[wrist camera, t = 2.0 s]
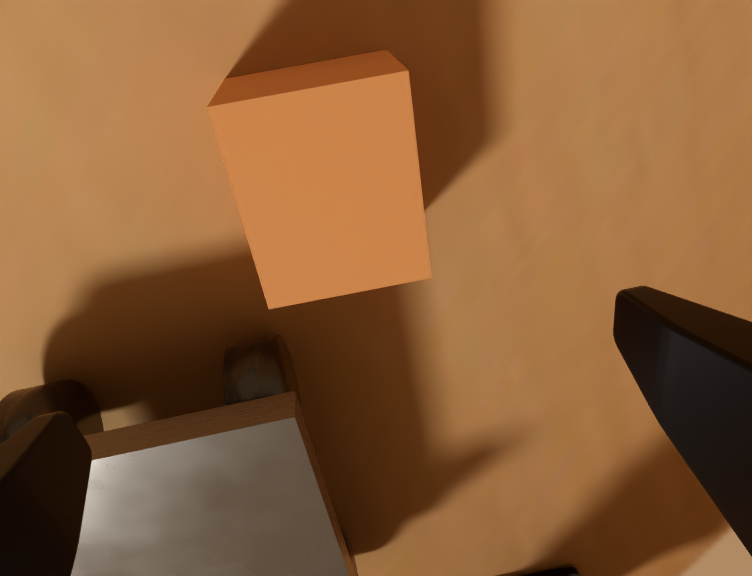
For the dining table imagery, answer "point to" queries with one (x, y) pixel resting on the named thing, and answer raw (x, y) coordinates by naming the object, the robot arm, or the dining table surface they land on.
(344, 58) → the orange rectangular carton
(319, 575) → the platform trolley
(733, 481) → the robot arm
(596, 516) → the dining table surface
